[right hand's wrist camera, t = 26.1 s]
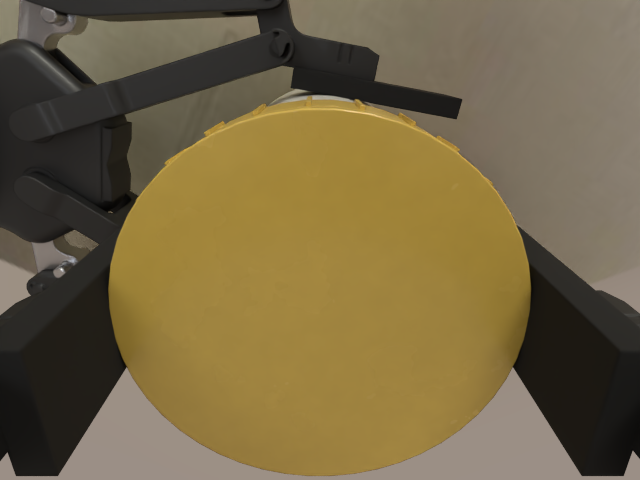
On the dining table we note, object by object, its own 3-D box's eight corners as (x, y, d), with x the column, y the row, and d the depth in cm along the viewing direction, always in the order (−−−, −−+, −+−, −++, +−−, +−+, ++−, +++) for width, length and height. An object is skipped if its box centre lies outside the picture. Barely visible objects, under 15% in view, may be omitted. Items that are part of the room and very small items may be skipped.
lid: (538, 111, 10) (589, 122, 8) (461, 426, 14) (485, 486, 12) (123, 83, 10) (76, 87, 8) (154, 411, 14) (127, 469, 12)
